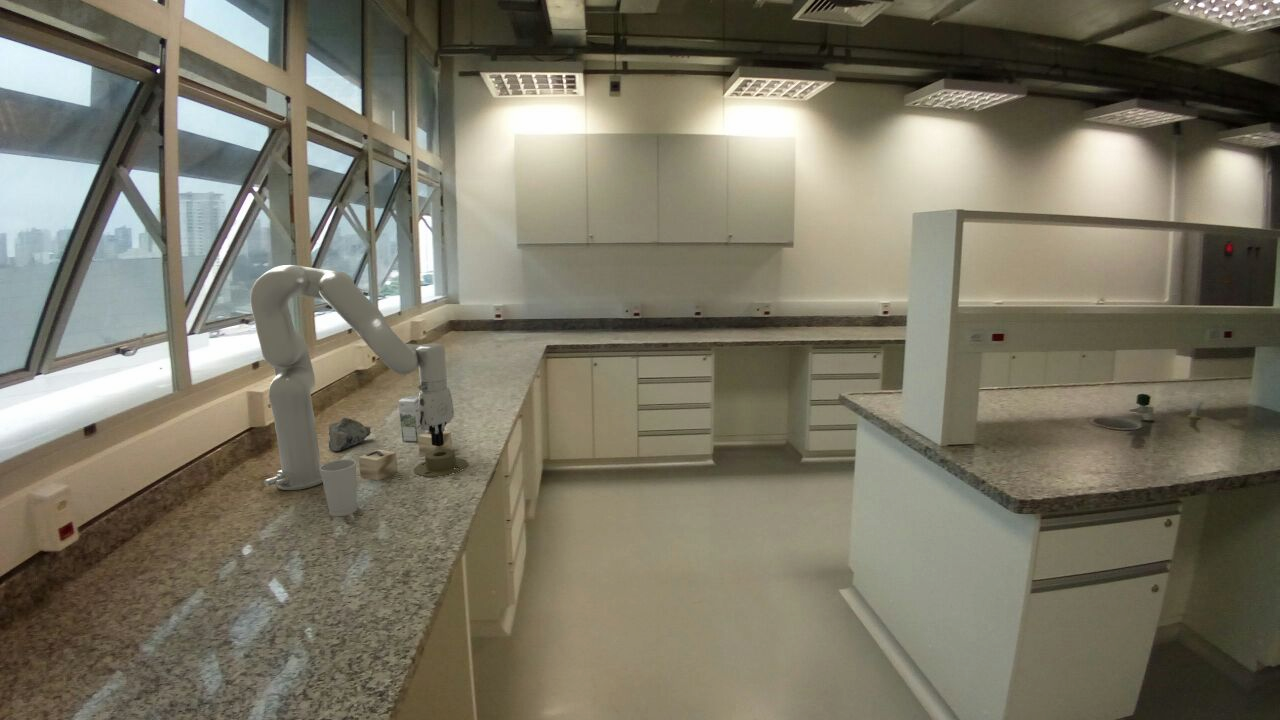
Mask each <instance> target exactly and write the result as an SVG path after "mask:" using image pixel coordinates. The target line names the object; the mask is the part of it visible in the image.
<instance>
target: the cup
mask: <svg viewBox="0 0 1280 720" xmlns="http://www.w3.org/2000/svg"><path fill="white" fill-rule="evenodd" d="M320 473H321V477H322V481H323V483H322V485H323V490H324V494H325V498H326V504H327V507H328V513H329V516H331V517H344V516H348V515H351V514H354V513H355V512H356V511H357V510H358V497H357V495H358V494H357V462H356V460H354V459H348V458H347V459H343V458H342V459H337V460H331V461H328V462H325V463H323V464H321V467H320Z"/></svg>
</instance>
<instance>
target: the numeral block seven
mask: <svg viewBox="0 0 1280 720" xmlns="http://www.w3.org/2000/svg"><path fill="white" fill-rule="evenodd" d="M397 459H398V458H397V452H395V451H391V450H384V449H380V448H378V449H376V450H373V451H370V452H368V453H366V454H363V455H360V456H358V464H359V473H360V477H361V478H366V479H370V480H371V479H372V480H374V481H380V480H382V479H385V478H387V477H389V476H391V475H394V474H395V473H398V472H399V468H398V460H397ZM393 473H394V474H393Z"/></svg>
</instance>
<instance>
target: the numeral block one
mask: <svg viewBox="0 0 1280 720" xmlns="http://www.w3.org/2000/svg"><path fill="white" fill-rule="evenodd" d="M452 440H453V439H452V432H451V431H448V430H444V432H443V441H444V444H443V445H441V446H434V445H432V439H431V433H429V431H427V432H426V431H425V433H424V434H421V435H418V450H419V454H420V453H423V454H422V455H425V454H427V453H428V452H431V451H434V450H439V449H452V450H453V443H452Z"/></svg>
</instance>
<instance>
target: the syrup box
mask: <svg viewBox="0 0 1280 720" xmlns="http://www.w3.org/2000/svg"><path fill="white" fill-rule="evenodd" d="M418 402H419V396H404V397H402V398H401V399H399V400H398V410H399V411H398V412H399V419H400V428H401V429H400V430H401V440H402V442H408V443H410V442H413V443H415V442H416V443H419V441H418V435H421V434H424V433H426V430H421V426H422V424H420V422H419V415H418Z"/></svg>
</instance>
